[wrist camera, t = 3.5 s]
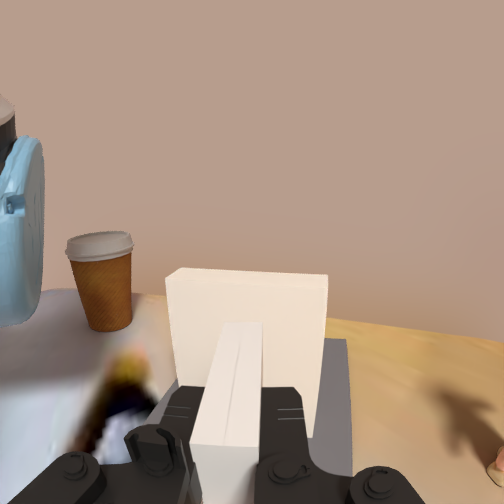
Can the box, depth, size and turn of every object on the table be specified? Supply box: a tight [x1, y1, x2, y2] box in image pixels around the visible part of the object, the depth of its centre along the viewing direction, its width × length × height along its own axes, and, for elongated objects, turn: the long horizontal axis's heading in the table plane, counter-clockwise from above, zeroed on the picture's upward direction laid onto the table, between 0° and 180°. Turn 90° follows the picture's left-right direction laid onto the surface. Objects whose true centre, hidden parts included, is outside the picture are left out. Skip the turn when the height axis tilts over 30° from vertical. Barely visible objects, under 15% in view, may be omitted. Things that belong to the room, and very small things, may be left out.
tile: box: [165, 268, 328, 438], centre depth 22 cm, size 10×3×12 cm, turn 78°
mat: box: [142, 338, 352, 477], centre depth 28 cm, size 16×20×1 cm
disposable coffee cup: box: [65, 231, 134, 332], centre depth 40 cm, size 10×10×12 cm
